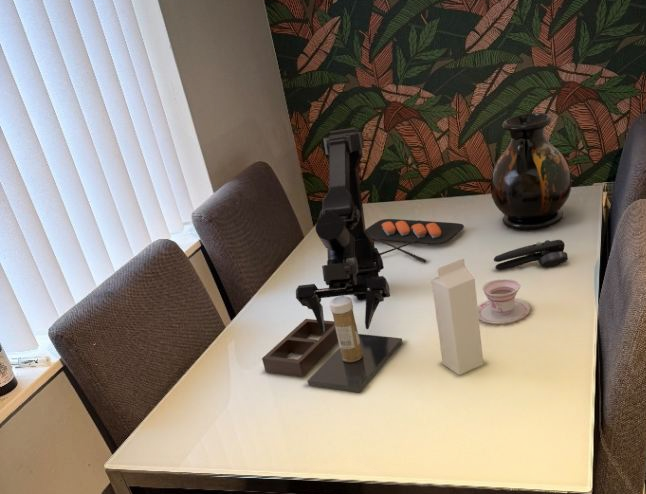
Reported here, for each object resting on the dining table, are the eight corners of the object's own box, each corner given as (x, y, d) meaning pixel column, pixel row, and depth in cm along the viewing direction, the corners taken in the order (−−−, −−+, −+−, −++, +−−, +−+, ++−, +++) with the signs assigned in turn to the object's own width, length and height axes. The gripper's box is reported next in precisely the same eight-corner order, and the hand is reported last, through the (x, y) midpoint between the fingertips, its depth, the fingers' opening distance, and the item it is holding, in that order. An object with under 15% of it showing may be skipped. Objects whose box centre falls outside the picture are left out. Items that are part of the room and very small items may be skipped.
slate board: (354, 338, 170) (353, 333, 169) (402, 342, 164) (402, 338, 164) (308, 385, 155) (307, 380, 155) (359, 392, 150) (358, 387, 149)
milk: (483, 364, 151) (474, 262, 140) (458, 375, 149) (446, 273, 138) (466, 353, 156) (455, 253, 145) (441, 364, 154) (428, 263, 142)
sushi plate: (468, 230, 214) (467, 217, 212) (415, 274, 194) (413, 260, 192) (382, 224, 229) (380, 212, 227) (325, 264, 209) (322, 251, 207)
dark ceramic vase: (565, 236, 199) (561, 127, 185) (485, 237, 208) (475, 133, 193) (578, 206, 216) (575, 105, 201) (503, 208, 224) (495, 111, 210)
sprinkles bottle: (367, 354, 160) (355, 296, 153) (354, 365, 157) (342, 306, 150) (350, 350, 162) (338, 294, 155) (337, 361, 159) (324, 303, 152)
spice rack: (308, 332, 176) (305, 318, 174) (344, 335, 171) (341, 321, 170) (265, 372, 163) (261, 358, 161) (302, 377, 158) (299, 362, 157)
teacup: (540, 306, 168) (539, 280, 165) (509, 329, 162) (507, 303, 158) (496, 296, 176) (494, 271, 173) (464, 318, 169) (461, 293, 166)
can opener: (564, 254, 190) (563, 233, 187) (569, 266, 184) (568, 244, 181) (493, 264, 191) (491, 243, 189) (495, 275, 186) (493, 254, 183)
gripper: (287, 249, 152) (289, 324, 148) (379, 238, 149) (383, 314, 145) (302, 269, 162) (304, 339, 159) (388, 259, 160) (392, 330, 156)
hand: (344, 331), depth 155 cm, fingers open, 9 cm apart
